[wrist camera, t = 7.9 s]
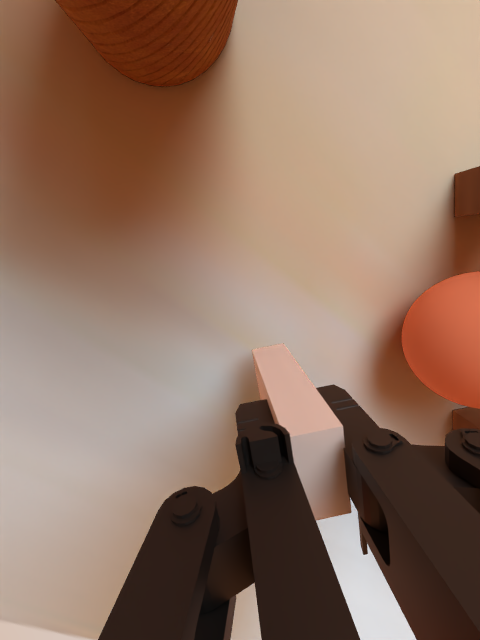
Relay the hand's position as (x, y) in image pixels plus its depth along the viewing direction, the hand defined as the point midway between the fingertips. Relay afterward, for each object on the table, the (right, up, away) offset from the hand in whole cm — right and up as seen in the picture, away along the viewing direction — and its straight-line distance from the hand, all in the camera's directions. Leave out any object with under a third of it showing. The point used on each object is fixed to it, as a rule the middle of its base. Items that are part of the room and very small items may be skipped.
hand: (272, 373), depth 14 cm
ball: (+9, +2, -1) cm, 9 cm away
